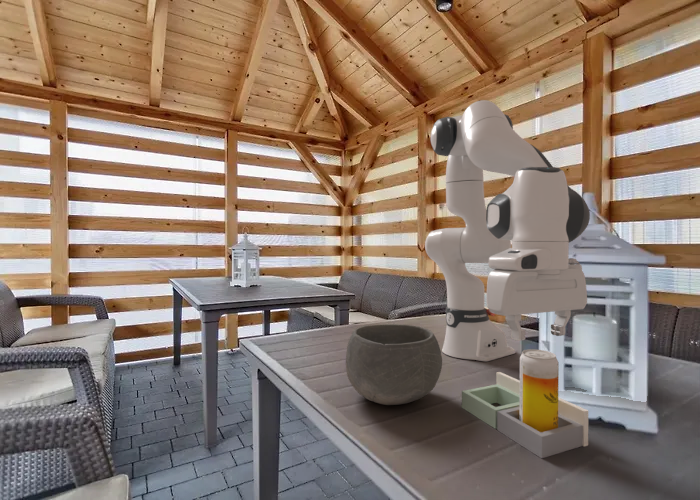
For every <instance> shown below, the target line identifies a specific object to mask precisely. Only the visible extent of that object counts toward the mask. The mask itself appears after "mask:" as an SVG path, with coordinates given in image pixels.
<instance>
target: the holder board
mask: <svg viewBox="0 0 700 500" xmlns="http://www.w3.org/2000/svg"><path fill="white" fill-rule="evenodd" d="M495 373H496V376H495V379H496V380H495V381H496V383H495V384H491V385H488V386H481V387H476V388H475V387H474V388H471V389H465V390H461V408H462V409H463V410H465V411H467V412H468V413H470V414H471V415H473V416H474V417H476V418H477V419H479V420H480V421H482V422H483V423H485V424H487V425H489V426H490V427H491V428H493V429H495V430H496V429H497V430H496V431H498V432H499V433H501V434H502V435H504V436H506V437H507V438H508V439H510V440H512V441H514V442H515V443H516V444H518V445H519V446H522V447H523V448H524V449H525V450H527V451H529V452H530V453H532V454H534V455H535V456H537V457H539V458H540V459H545V458H548V457H550V456H554V455H558V454H561V453H564V452H567V451H570V450H573V449H577V448H579V447H580V448H581V447H588V446H589V410H588V409H585V408H583V406H582V407H581V406H579V405H577V404H574V403H572V402H570V401H567V400H566V399H563V398H561V397H559V396H558V428H556V429H552V430H549V431H545V432H539V431H537V430H535V429H534V428H532V427H530V426H528V425H527V424H525V423H523V422H521V421H519V405H520V379H517V378H515V377H513V376H511V375H508V374H505V373H504V372H501V371H498V372H495ZM493 404H499V406H494V405H493Z"/></svg>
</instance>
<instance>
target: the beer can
mask: <svg viewBox="0 0 700 500" xmlns="http://www.w3.org/2000/svg"><path fill="white" fill-rule="evenodd" d="M559 366H560V365H559V360H558V359H557V355H556V354H555V353H553V352H552V351H548V350H543V349H532V348H531V349H530V348H529V349H523V350H522V352H521V355H520V357H519V380H520V405H519V421H521V422H523V423H525V424H527V425H528V426H530V427H532V428H534V429H535V430H537V431H539V432H545V431H549V430H552V429H556V428H558V397H559V371H560V370H559Z"/></svg>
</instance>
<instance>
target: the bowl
mask: <svg viewBox="0 0 700 500" xmlns="http://www.w3.org/2000/svg"><path fill="white" fill-rule="evenodd" d="M442 368H443V356H442V350H441V348H440V344H439V341H438V339H437V338H436V336H435V334H434V333H433V331H432V330H431V329H429V328H426V327H422V326H419V325H412V324H398V323H397V324H391V323H390V324H389V323H388V324H387V323H386V324H369V325H368V324H367V325H361V326H359V327H357V328H355V329H354V330H353V331H352V332H351V335H350V337H349V340H348V342H347V346H346V352H345V371H346V376H347V378H348V381H349V383H350V384H351V387H352V388H353V389H354V390H355V391H356V392H357V393H358V394H359V395H361V396H362V397H363V398H365V399H366V400H368V401H371V402H374V403H377V404H379V405H383V406H384V405H385V406H394V405H395V406H396V405H397V406H398V405H406V404H409V403H411V402H412V403H413V402H414V401H417V400H419V399H422V398H423V397H425V396H427V395H428V394H429V393H431V391H433V389H434V388H435V387H436V386H437V383H438V381H439V378H440V375H441V373H442Z"/></svg>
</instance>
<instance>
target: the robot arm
mask: <svg viewBox="0 0 700 500" xmlns="http://www.w3.org/2000/svg"><path fill="white" fill-rule="evenodd" d="M513 127H514V126H513V121H512V119H511V117H510V116H509V115H508V114H504V112H503V111H502V109H501V108H500V107H499V106H498V105H497V104H496V103H494V102H493V101H490V100H487V99H485V100H484V99H481V100H477V101H475V102H473V103H470V105H468V106H467V107H466V109H465V111H464V112H463V114H461V115H457V116H446V117H441V118H439V119H437V120H436V122H434V124H433V126H432V129H431V132H430V144H431V147H432V150H433V152H435V154H436V155H438V156H442V157H447V159H446V161H447V162H446V166H445V167H446V169H445V205H446V207H447V210H448V211H449V212H450V213H451V214H453V215H454V216H457V217H459V218H461V219H462V220H463V222H464V223H465V227H445V228H439V229H435V230H431V231H430V232H429V233H428V235H427V236H426V238H425V242H424V249H425V253H426V255H427V256H428V257H429V259H430V260H432V261H433V262H434V263H435V264H436V265H437V267H439V270H440V271H441V272H442V275H443V277H444V279H445V285H446V297H447V298H446V303H447V306H446V307H445V322H446V326H445V327H446V328H445V337H444V341H443V344H442V345H443V346H442V349H441V353H444V355H446V356H450V357H453V358H456V359H457V358H458V359H463V360H473V361H475V360H476V361H480V362H489V361H493V360H494V361H495V360H497V359H500V358H501V359H502V358H503V357H504V358H505V357H507V356H510V355H514V354H516V349H514V348H513V347H512V346H509V345H508V342H507V341H508V339H507V336H506V335H507V334H505V332H504V331H503V330H502V329H501V328H500V327H499V326H497V325H496V324H495V323H494V322H492V321H491V320H490V317H489V316H491V317H495V316H496V315H498V316H503V317H505V321H506V322H507V325H508V327H509V329H510V338H511V339H512V340H513V341H517V342H518V341H519V342H520V341H525V340H526V329H523V328H522V327H521V324H520V322H521V321H522V315H529V314H531V315H532V314H539V313H540V314H541V313H551V312H554V315H555V316H556V317H555V320H554V323H553V324H550V335H551V334H552V336H556V337H561V336H565V335H566V326H568V325H567V324H568V322H569V320H570V318H571V316H572V315H571V312H572V311H576V310H584V309H585V307H586V305H587V303H588V294H587V282H586V276H585V273H584V271H583V266H582V264H580V262H579V261H578V260H577V259H576V258H574V257H572V258H571V257H569V255H570V254H569V249H570V248H569V246H570V245H569V243H571V242H573V241H574V240H576V239H577V238H579V237H580V236H581V235H582V234H583V233H584V231H585V230H586V229H587V228H588V226H589V223H590V219H591V214H590V208H589V206H588V203H587V202H586V200H585V199H584V198H583V197H582V196H581V194H580V193H579V192H577V191H576V190H574V189H573V188H571V187H570V186H569V185H568V181H567V177H566V174H565V171H564V170H563V169H561V168H559V167H555V166H553V165H552V163H551V162H550V161H549V159H547V157H546V156H545V155H544V154H543V152H541V151H540V149H539V148H537V147H536V146H534V145H533V144H531V143H530V142H528V141H527V140H525V139H524V138H522V136H520V135H519V134H518V133H517V132H516V131H515V130H514V128H513ZM484 171H487V172H491V173H497V174H503V175H508V176H512V177H513V182H512V184H511V185H510V186H509V187H508V188H507V189H505V191H504V192H502V193H499V194H497V195H495V196H494V197H493V198H492V199H491V200H490V202H488V204H487V207H486V201H485V187H484ZM468 263H469V264H488V267H489V269H492V270H491V271H490V273H488V276H487V283H486V306H487V308H485V285H484V284H485V283H484V282H483V281H482V280H481V278H479V277H478V276H476V275H475V274H473V273H471V272H469V270H468V269H467V266H466V264H468Z"/></svg>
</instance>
